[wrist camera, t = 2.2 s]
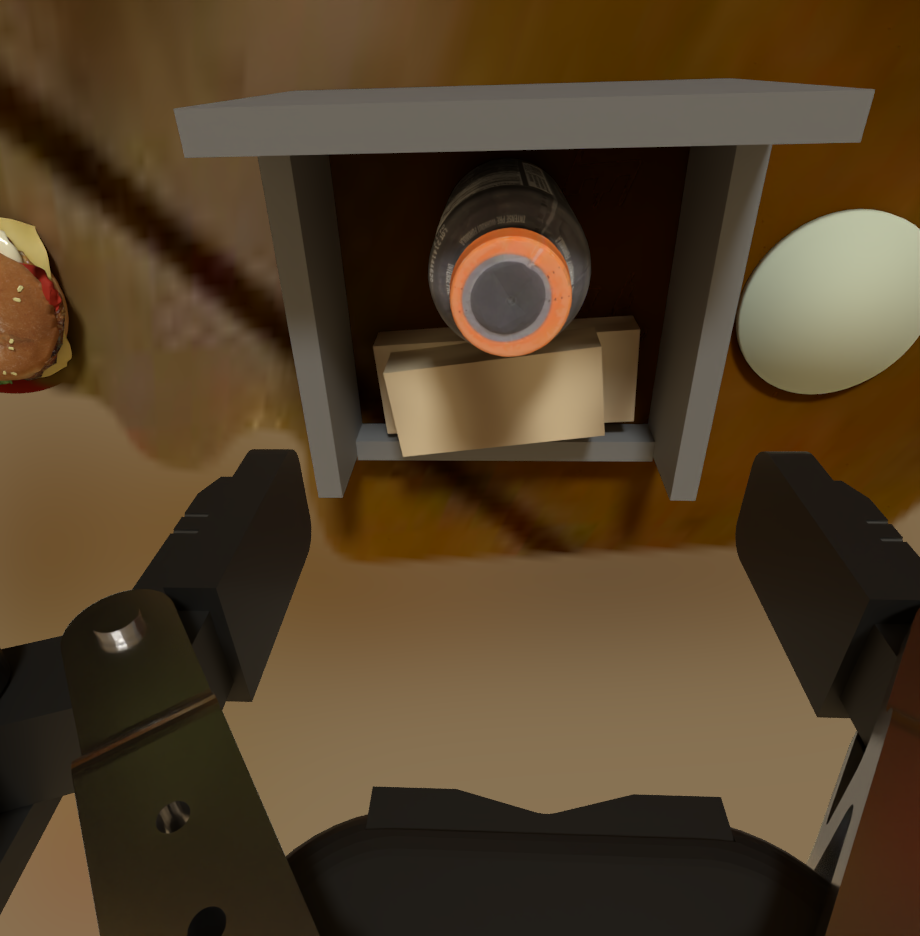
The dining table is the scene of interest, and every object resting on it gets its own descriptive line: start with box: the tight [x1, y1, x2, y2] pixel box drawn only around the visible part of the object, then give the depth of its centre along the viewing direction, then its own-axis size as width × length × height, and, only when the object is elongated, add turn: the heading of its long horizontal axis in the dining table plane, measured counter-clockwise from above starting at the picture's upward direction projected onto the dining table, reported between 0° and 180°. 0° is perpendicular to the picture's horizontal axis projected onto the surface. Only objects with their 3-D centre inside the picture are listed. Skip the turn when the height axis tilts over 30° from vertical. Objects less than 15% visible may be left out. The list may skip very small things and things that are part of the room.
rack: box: [174, 78, 875, 501], centre depth 26 cm, size 18×18×12 cm
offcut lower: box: [373, 315, 640, 434], centre depth 33 cm, size 13×5×2 cm, turn 95°
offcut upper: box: [383, 327, 605, 457], centre depth 31 cm, size 10×5×2 cm, turn 99°
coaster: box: [736, 209, 920, 394], centre depth 31 cm, size 9×9×1 cm
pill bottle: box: [428, 158, 591, 357], centre depth 25 cm, size 6×6×11 cm
